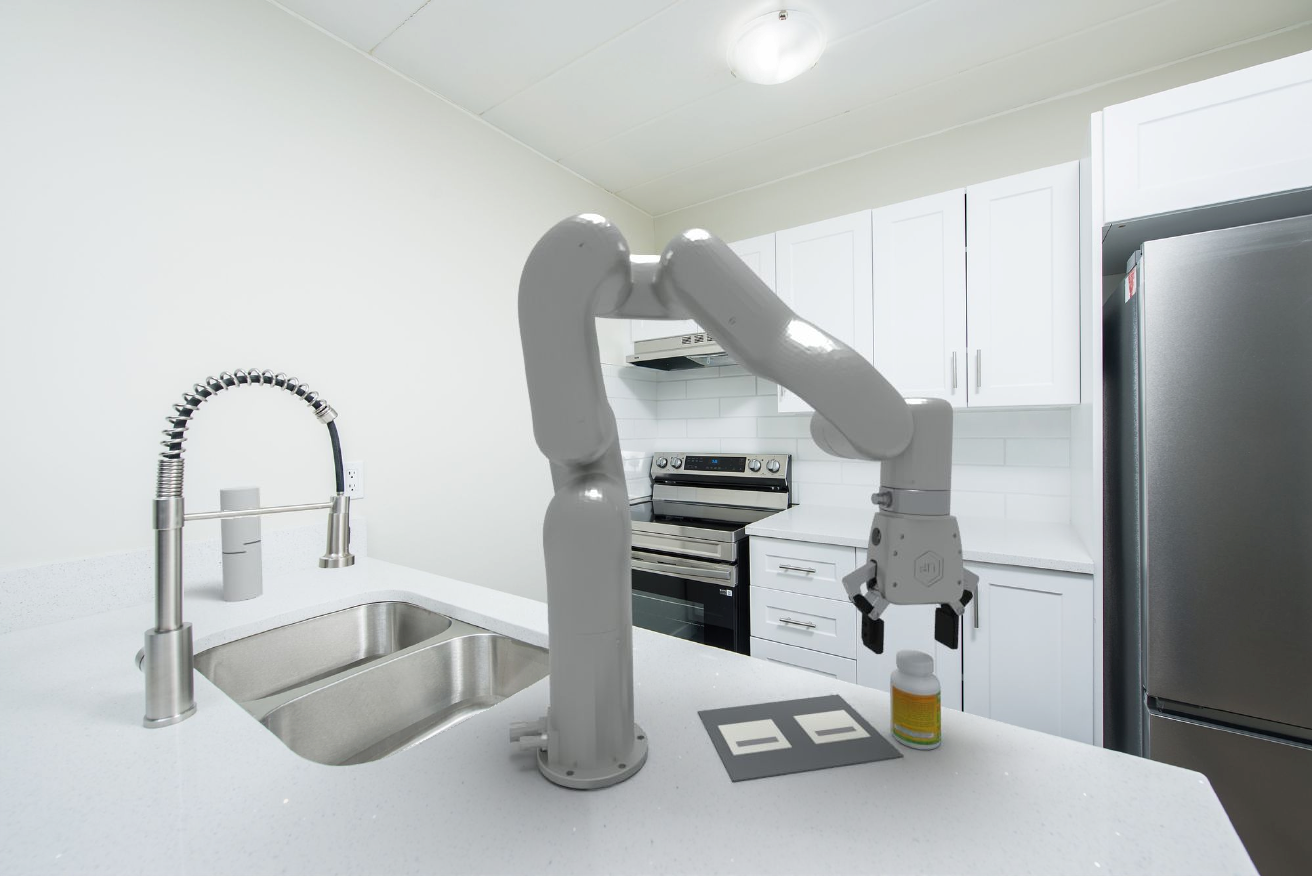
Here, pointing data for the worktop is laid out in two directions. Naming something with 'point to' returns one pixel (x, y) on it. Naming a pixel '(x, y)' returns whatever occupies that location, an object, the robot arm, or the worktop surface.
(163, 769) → the worktop surface
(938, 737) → the supplement bottle
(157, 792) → the worktop surface
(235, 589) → the cylindrical container
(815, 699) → the label mat
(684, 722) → the worktop surface
